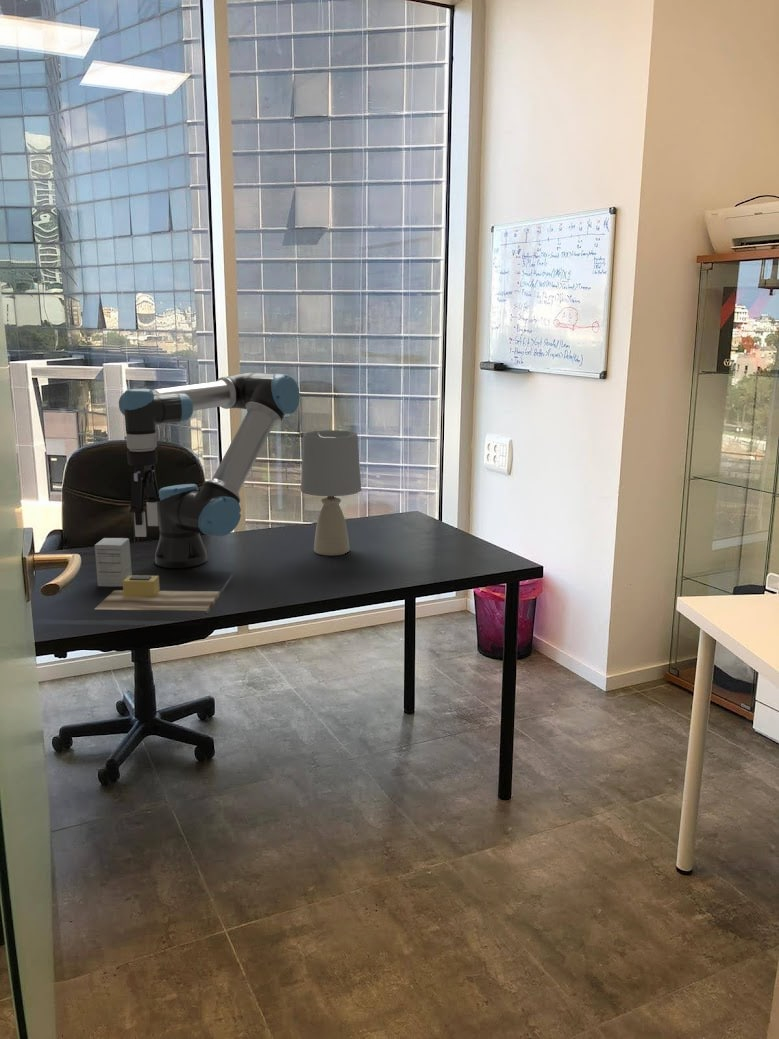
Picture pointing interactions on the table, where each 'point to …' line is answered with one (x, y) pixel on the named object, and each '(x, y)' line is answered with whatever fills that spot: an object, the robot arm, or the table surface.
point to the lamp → (330, 483)
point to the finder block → (141, 585)
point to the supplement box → (112, 561)
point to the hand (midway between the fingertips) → (147, 530)
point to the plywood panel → (161, 601)
